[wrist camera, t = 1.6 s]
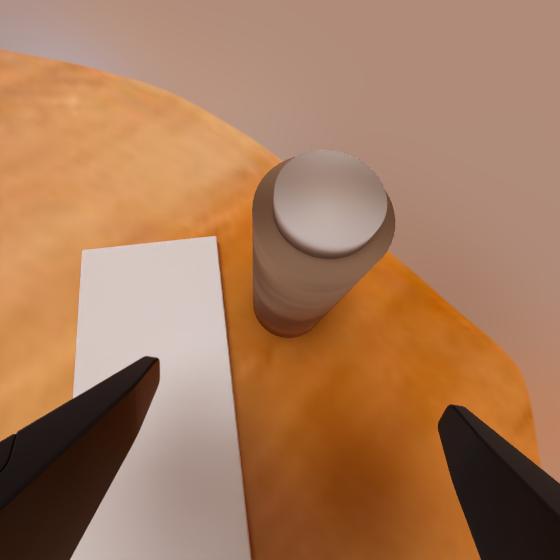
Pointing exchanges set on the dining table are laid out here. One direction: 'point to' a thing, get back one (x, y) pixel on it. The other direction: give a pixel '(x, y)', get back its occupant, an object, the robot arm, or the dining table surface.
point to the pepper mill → (315, 237)
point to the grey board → (165, 403)
